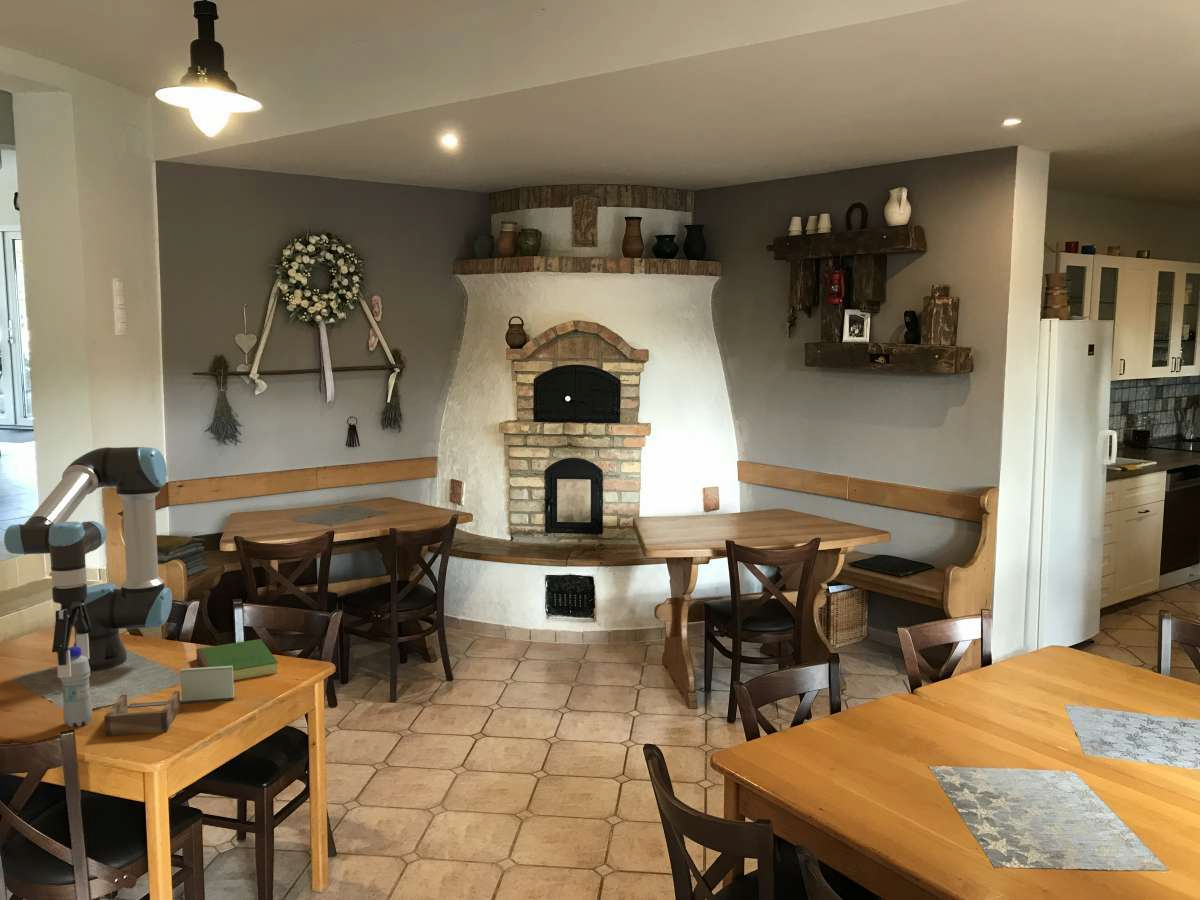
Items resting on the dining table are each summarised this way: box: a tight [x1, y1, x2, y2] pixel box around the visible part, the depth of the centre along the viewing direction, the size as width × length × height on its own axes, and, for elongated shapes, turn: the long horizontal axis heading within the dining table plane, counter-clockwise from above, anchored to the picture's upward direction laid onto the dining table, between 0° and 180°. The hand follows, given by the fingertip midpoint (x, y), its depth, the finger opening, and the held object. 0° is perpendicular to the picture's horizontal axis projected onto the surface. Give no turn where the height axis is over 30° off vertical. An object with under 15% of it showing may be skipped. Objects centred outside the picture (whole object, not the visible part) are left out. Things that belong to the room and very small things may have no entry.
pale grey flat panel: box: [179, 666, 235, 701], centre depth 252 cm, size 1×13×9 cm, turn 102°
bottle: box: [60, 646, 93, 728], centre depth 236 cm, size 7×7×20 cm
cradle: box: [103, 690, 236, 737], centre depth 242 cm, size 20×27×5 cm
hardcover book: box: [195, 638, 279, 681], centre depth 279 cm, size 25×19×4 cm
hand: (74, 667), depth 235 cm, fingers open, 13 cm apart
